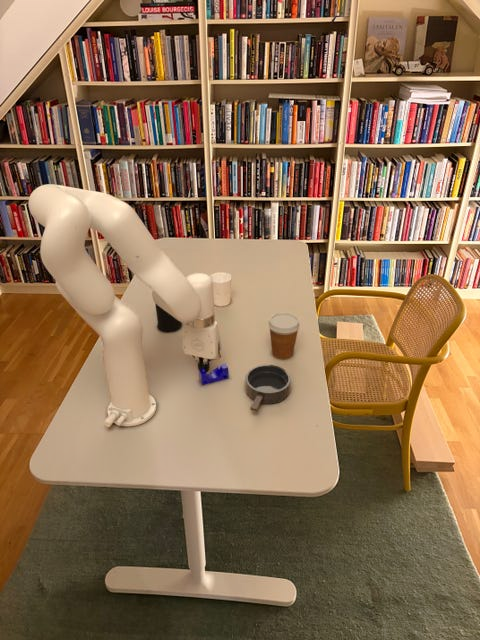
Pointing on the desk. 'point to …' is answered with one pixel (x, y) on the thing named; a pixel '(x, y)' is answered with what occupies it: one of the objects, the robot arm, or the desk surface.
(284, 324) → the disposable coffee cup
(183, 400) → the desk surface
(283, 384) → the pan
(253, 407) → the pan handle
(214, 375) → the cable holder
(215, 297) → the white cup
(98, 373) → the desk surface
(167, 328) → the aerosol can
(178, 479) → the desk surface
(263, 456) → the desk surface
